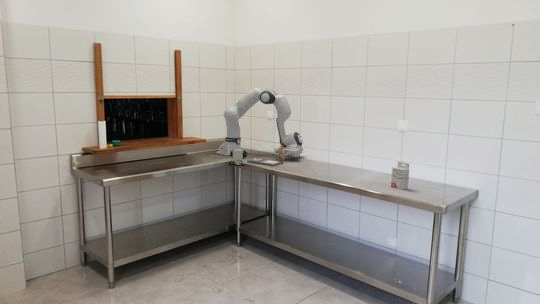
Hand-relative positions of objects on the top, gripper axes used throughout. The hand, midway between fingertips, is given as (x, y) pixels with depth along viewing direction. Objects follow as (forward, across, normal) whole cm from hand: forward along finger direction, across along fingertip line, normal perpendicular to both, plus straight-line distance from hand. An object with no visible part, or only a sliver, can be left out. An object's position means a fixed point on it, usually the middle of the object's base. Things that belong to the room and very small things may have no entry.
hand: (281, 152), depth 311 cm
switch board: (+12, -6, +7) cm, 15 cm away
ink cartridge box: (+21, +99, +7) cm, 102 cm away
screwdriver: (-1, 0, +7) cm, 7 cm away
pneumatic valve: (+30, -16, +7) cm, 35 cm away
